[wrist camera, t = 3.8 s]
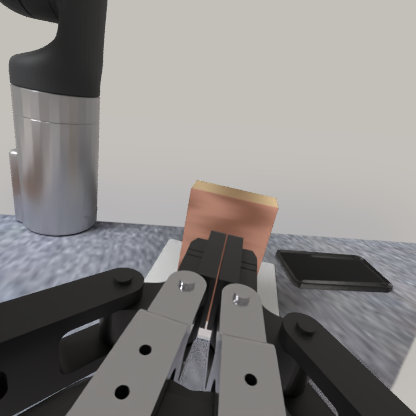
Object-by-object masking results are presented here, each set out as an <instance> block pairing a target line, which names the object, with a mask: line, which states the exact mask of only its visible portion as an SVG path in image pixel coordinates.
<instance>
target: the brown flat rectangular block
mask: <svg viewBox="0 0 416 416" xmlns="http://www.w3.org/2000/svg"><path fill="white" fill-rule="evenodd" d="M277 211H278V205H277V199H276V198H273V197H269V196H264V195H260V194H256V193H251V192H247V191H243V190H238V189H234V188H230V187H225V186H220V185H216V184H212V183H208V182H203V181H199V180H197V181H196V182H195V184H194V185H193V187H192V188H191V193H190V199H189V204H188V211H187V216H186V222H185V228H184V234H183V240H182V246H181V252H180V258H179V263H178V269H179V266H180V264H181V262H182V260H183V258H184V256H185V254H186V251H187V249H188V247H189V245H190V243H191V242H192V241H193V240H195V239H196V238H202V239H206V240H208V239H209V236H210V233H211V230H213V231H217V232H222V233H226V234H227V235H226V239H225V244H224V248H223V252H222V257H221V261H220V266H221V262H222V258H223V253H224V249H225V245H226V241H227V237H228V234H230V235H234V236H238V237H242V238H243V249H247V250H251V251H253V252H254V254H255V255H256V257H257V275H258V272H259V269H260V266H261V263H262V259H263V256H264V253H265V250H266V246H267V243H268V240H269V237H270V234H271V230H272V227H273V224H274V221H275V217H276V214H277ZM220 266H219V270H220ZM178 269H177V271H178ZM219 270H218V274H217V279H218V275H219ZM217 279H216V283H215V287H214V291H213V296H212V300H211V304H210V308H209V313H208V317H207V322H208V320H209V315H210V311H211V306H212V302H213V297H214V293H215V288H216V284H217Z"/></svg>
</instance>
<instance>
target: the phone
mask: <svg viewBox="0 0 416 416" xmlns="http://www.w3.org/2000/svg"><path fill="white" fill-rule="evenodd" d="M276 258H277V260H278V262H279V263H280V265H281V266H282V264H283V266H284V267H285V269H284V267H283V266H282V268H283V270H284V271H285V273H286V274H287V276H288V278H289V279H290V281H291V282H292V284H294V285H295V286H297V287H299V288H303V289H323V290H344V291H365V292H386V293H388V292H390V291H391V289H392V287H393V286H392V284H391V283H390V282H389V281H388V280H387V279H386V278H385V277H383V276H382V275H381V274H380V273H379V272H378V271H377V270H376V269H375V268H374V267H372V266H371V265H370V264H369V263H368V262H367V261H366V260H365V259H363V258H361V257H359V256H356V255H344V254H331V253H319V252H306V251H293V250H278V251H277V253H276Z"/></svg>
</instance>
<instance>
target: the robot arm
mask: <svg viewBox="0 0 416 416" xmlns="http://www.w3.org/2000/svg"><path fill="white" fill-rule="evenodd" d="M0 2H1V3H2V4H3V5H5V6H6V7H8V8H9V9H11V10H13V11H14V12H16V13H19V14H21V15H23V16H26V17H30V18H34V19H38V20H44V21H48V22H53V23H58V31H57V35H56V37H55V39H54V40H53V41H52V42H51V43H49V44H48V45H46V46H45V47H43V48H40V49H38V50H35V51H31V52H26V53H21V54H16V55H14V56H12V57H11V58H10V61H9V74H10V83H11V85H10V86H11V96H12V106H13V117H14V128H15V138H16V149H13V150H11V151H10V152H9V157H10V168H11V176H12V177H11V178H12V187H13V197H14V206H15V217H16V221H20V222H22V223H23V224H24V226H25V227H26V228H28V229H29V230H31V231H33V232H36V233H39V234H45V235H69V234H75V233H79V232H82V231H84V230H87V229H89V228H90V227H92V226H93V225H94V224H95V222H96V216H97V215H96V214H97V187H98V183H97V182H98V150H99V110H100V108H99V106H100V97H99V96H100V82H101V74H102V67H103V48H104V33H105V21H106V11H107V0H0ZM226 235H227V234H226V233H222V232H217V231H213V230H211V233H210V236H209V239H208V240H206V239H202V238H196V239H195V240H193V241H192V242H191V243H190V245H189V247H188V249H187V251H186V254H185V256H184V258H183V260H182V262H181V264H180V266H179V269H178V271H177V272H174V273H172V274H171V275H170V276H169V277H168V279H167V280H166V281H164V282H159V283H149V282H144V278H143V276H142V274H141V273H140V272H138V271H136V270H134V269H131V268H116V269H112V270H109V271H105V272H102V273H99V274H95V275H92V276H89V277H85V278H82V279H79V280H75V281H72V282H69V283H65V284H62V285H59V286H55V287H52V288H49V289H45V290H42V291H39V292H35V293H32V294H29V295H26V296H22V297H19V298H16V299H12V300H9V301H6V302H2V303H0V416H13V415H15V414H16V413H18V412H20V411H22V410H24V409H26V408H28V407H30V406H31V405H33V404H35V403H37V402H39V401H41V400H43V399H45V398H46V397H48V396H50V395H52V394H54V393H56V392H58V391H59V392H58V393H56V394H54V395H52V396H51V397H49V398H47V399H45V400H44V401H42V402H40V403H38V404H37V405H35V406H33V407H31V408H30V409H28V410H26V411H24V412H22V413H21V414H19V415H17V416H336V415H335V414H334V413H333V412H332V410H331V409H330V408H329V407H328V406H327V404H326V403H325V402H324V401H323V400H322V398H321V397H320V396H319V395H318V394H317V392H316V391H315V390H314V389H313V388H312V386H311V385H310V384H309V383H308V381H309V379H310V378H311V379H312V381H313V382H314V383H315V384H316V385H317V387H318V388H319V389H320V390H321V391H322V392H323V394H324V395H325V396H326V397H327V398H328V400H329V401H330V402H331V403H332V404H333V406H334V407H335V408H336V410H337V412H338V414H339V416H416V414H414V413H413V412H412V411H411V410H410V409H409V408H408V407H407V406H406V405H405V404H404V403H403V402H402V401H401V400H400V399H399V398H398V397H397V396H395V395H394V394H393V393H392V392H391V391H390V390H389V389H388V388H387V387H386V386H385V385H384V384H383V383H382V382H381V381H380V380H379V379H378V378H377V377H376V376H374V375H373V374H372V373H371V372H370V371H369V370H368V369H367V368H366V367H365V366H364V365H363V364H362V363H361V362H360V361H359V360H358V359H357V358H355V357H354V356H353V355H352V354H351V353H350V352H349V351H348V350H347V349H346V348H345V347H344V346H343V345H342V344H341V343H340V342H339V341H338V340H337V339H335V338H334V337H333V336H332V335H331V334H330V333H329V332H328V331H327V330H326V329H325V328H324V327H323V326H322V325H321V324H320V323H318V322H317V321H316V320H315V319H313V318H311V317H310V316H308V315H305V314H302V313H296V312H295V313H289V314H287V315H286V316H285V317H284V319H283V318H281V317H279V316H277V315H275V314H273V313H272V312H270V311H269V310H267V309H266V308H265V307H264V306H263V305H262V302H261V298H260V296H259V294H258V293H257V257H256V255H255V254H254V252H253V251H251V250H247V249H243V238H242V237H238V236H234V235H230V234H228V237H227V241H226V245H225V249H224V253H223V258H222V262H221V266H220V261H221V257H222V252H223V248H224V244H225V239H226ZM219 266H220V270H219ZM218 270H219V275H218V279H217V274H218ZM216 279H217V284H216V288H215V293H214V297H213V302H212V306H211V311H210V315H209V320H208V324H207V330H211V331H212V332H211V337H210V341H209V345H208V349H207V358H206V367H205V377H204V386H203V391H192V390H189V389H187V388H185V387H183V386H182V385H180V381H181V379H182V376H183V373H184V370H185V367H186V365H187V362H188V359H189V356H190V354H191V351H192V348H193V345H194V340H195V339H196V337H197V335H198V331H199V328H203V329H205V325H206V321H207V317H208V313H209V308H210V304H211V300H212V296H213V291H214V287H215V283H216ZM97 319H100V323H97V324H95V325H93V326H90V327H88V328H86V329H83V330H81V331H78V332H76V333H74V334H71V335H69V336H67V337H64V338H62V337H63V336H64V335H65V334H66V333H67V332H69V331H71V330H73V329H75V328H78V327H80V326H83V325H85V324H87V323H90V322H92V321H95V320H97ZM61 338H62V339H61ZM95 371H96V373H95V374H94V376H91V377H88V378H85V379H83V380H80V379H82V378H84V377H86V376H88V375H90V374H91V373H93V372H95ZM78 380H80V381H78ZM76 381H78V382H76ZM75 382H76V383H75ZM73 383H74V384H73ZM71 384H72V385H71ZM69 385H70V386H69ZM67 386H68V387H67ZM65 387H66V388H65ZM63 388H65V389H63ZM61 389H63V390H61ZM60 390H61V391H60Z"/></svg>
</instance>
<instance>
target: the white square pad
mask: <svg viewBox="0 0 416 416" xmlns="http://www.w3.org/2000/svg"><path fill="white" fill-rule="evenodd" d="M181 246H182V241H178V240H174V239H169V241H168V242H167V244H166V246H165V247H164V249H163V250H162V252H161V254H160V255H159V257H158V259H157V260H156V262H155V264H154V265H153V267H152V269H151V270H150V272H149V273H148V275H147V277H146V278H145V280H144V282H149V283H159V282H164V281H166V280H167V279H168V277H169V276H170V275H171V274H172V273H174V272H177V269H178V263H179V258H180V252H181ZM257 293H258V294H259V296H260V298H261V302H262V305H263V306H264V307H265V308H266V309H267V310H269V311H270V312H272V313H273V314H275V315H277V316H279V309H278V299H277V289H276V278H275V268H274V264H270V263H266V262H262V263H261V266H260V269H259V272H258V275H257ZM207 324H208V322H207V321H206V325H205V329H203V328H199V331H198V335H197V337H196V338H200V339H204V340H207V341H210V337H211V332H212V331H211V330H207Z"/></svg>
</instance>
